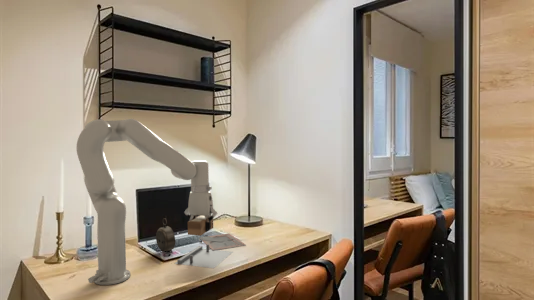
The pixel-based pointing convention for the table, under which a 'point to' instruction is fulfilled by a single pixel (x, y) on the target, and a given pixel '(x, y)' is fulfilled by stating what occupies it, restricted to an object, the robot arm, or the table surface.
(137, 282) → the table surface
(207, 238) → the picture frame
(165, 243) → the alarm clock
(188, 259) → the wall board
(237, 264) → the table surface
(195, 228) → the brown cardboard box
